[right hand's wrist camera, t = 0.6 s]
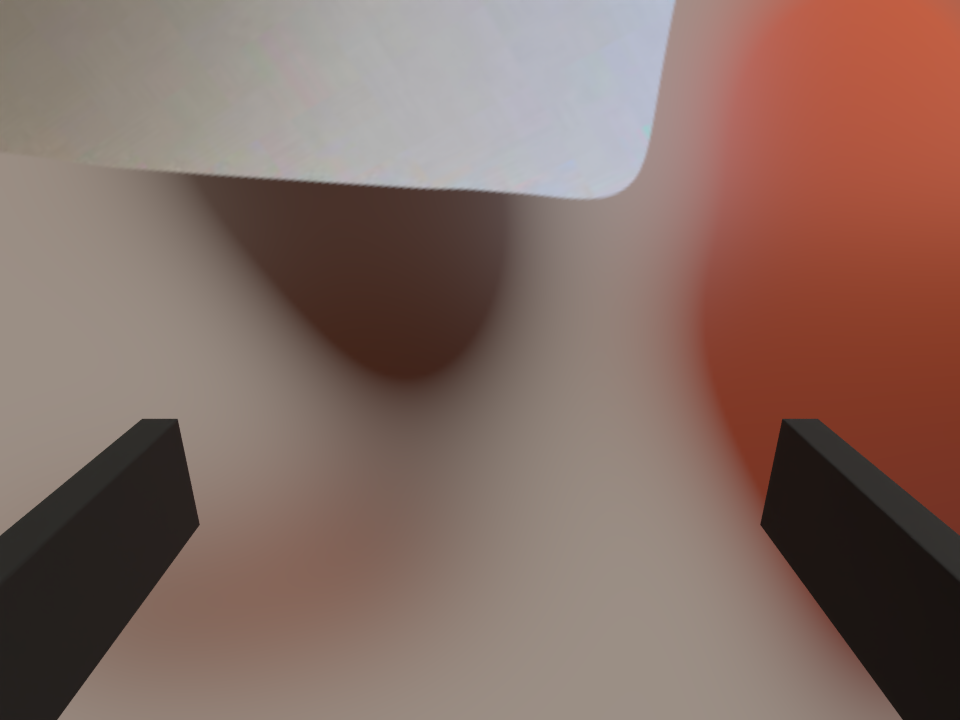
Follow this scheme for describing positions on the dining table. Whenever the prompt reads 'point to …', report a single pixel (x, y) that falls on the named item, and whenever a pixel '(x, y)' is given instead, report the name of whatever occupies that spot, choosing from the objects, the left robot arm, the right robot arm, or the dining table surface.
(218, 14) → the dining table surface
